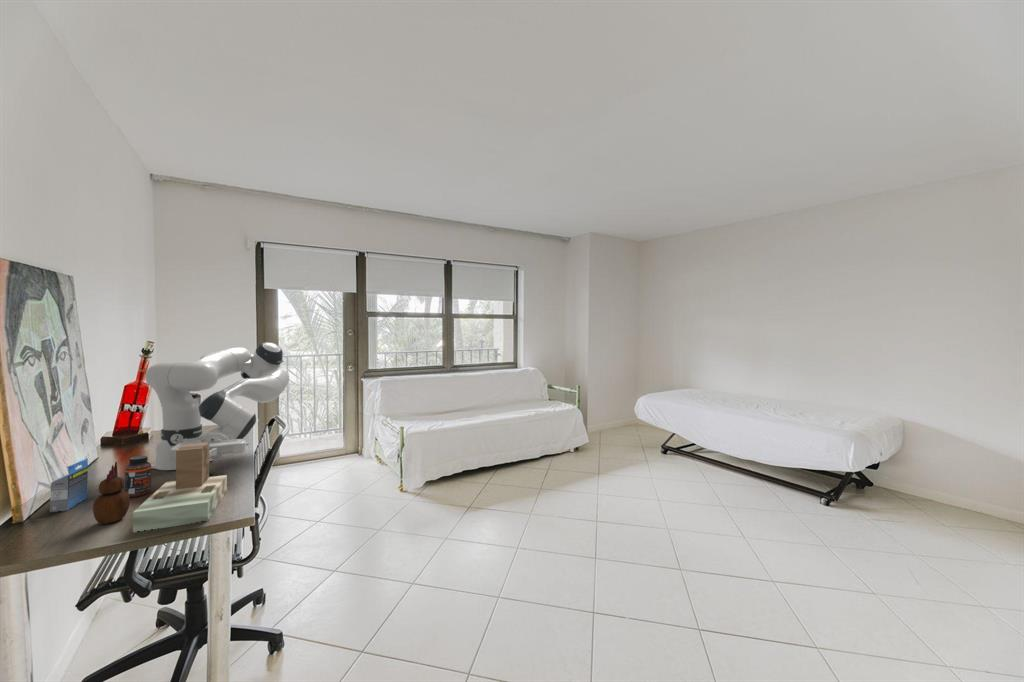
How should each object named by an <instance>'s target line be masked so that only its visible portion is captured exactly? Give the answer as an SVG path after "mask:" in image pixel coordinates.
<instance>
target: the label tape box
mask: <svg viewBox="0 0 1024 682" xmlns="http://www.w3.org/2000/svg"><path fill="white" fill-rule="evenodd" d="M78 466H79V468H78ZM80 466H81V467H80ZM67 473H68V474H66V475H64V476H62V477H59V478H57V479H55V480H54V481H51V483H50V497H49V499H50V500H49V513H58V511H61V512H66V511H70V510H71V509H72V508H74V507H75V506H77V505H78V503H79V504H80V503H82V502H84V501H85V500H86V499H87V494H88V491H87V490H88V478H89V476H88V475H89V460H88V457H87V458H85V459H82V460H80V461H77V462H75V463H72V464H70V465H67ZM83 500H84V501H83ZM70 508H71V509H70Z"/></svg>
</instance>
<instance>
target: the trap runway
mask: <svg viewBox="0 0 1024 682" xmlns="http://www.w3.org/2000/svg"><path fill="white" fill-rule="evenodd" d="M226 491H227V492H228V475H227V474H224V475H217V476H215V475H214V477H209V478H208V479H207V481H206V482H205V483H204V484H203V485H202V486H199V487H191V488H183V489H176V480H171V481H166V482H164V484H162V485H161V486H160V487H159V488H158V489H156V491H155V492H154V493H153V494H151V495H150V496H149V497H148V498H147V499H145V500H144V502H143V503H142V504H140V505H139V506H138V507H137V508H136V509H134V511H133V512H132V533H138V532H137V531H140V532H145V531H144V530H146V531H152V530H151V529H153V530H159V529H165V528H166V529H167V528H171V527H177V526H178V527H179V526H184V525H191V523H192V524H196V522H198V523H202V522H201V521H205V522H208V521H209V520H210V519H211V517H212V515H213V514H214V513H215V511H214V510H216V509H217V508H218V506H219V504H220V503H221V501H222V499H223V498H224V496H225V495H226V494H227V492H226ZM222 497H223V498H222ZM219 502H220V503H219ZM212 513H213V514H212ZM210 516H211V517H210ZM208 519H209V520H208ZM207 520H208V521H207ZM158 528H159V529H158Z"/></svg>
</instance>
